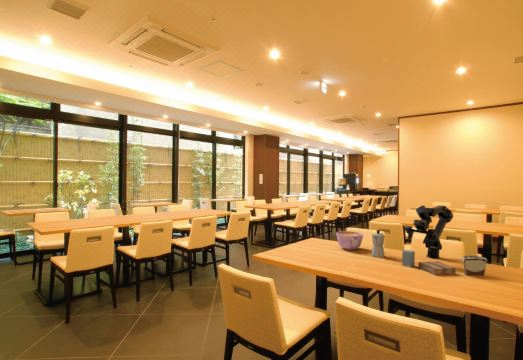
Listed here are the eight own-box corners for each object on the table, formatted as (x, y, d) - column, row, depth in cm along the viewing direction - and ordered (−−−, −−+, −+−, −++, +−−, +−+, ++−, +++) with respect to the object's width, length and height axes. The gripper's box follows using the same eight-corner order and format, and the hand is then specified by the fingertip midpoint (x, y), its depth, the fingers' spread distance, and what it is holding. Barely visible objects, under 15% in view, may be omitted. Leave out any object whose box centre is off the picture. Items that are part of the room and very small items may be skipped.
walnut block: (437, 267, 175) (437, 261, 175) (455, 274, 163) (455, 267, 162) (418, 268, 173) (418, 262, 173) (435, 276, 160) (435, 268, 160)
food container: (479, 272, 165) (480, 255, 165) (487, 276, 159) (487, 258, 159) (457, 271, 166) (457, 254, 166) (463, 275, 160) (463, 257, 160)
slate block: (406, 263, 181) (406, 249, 181) (414, 265, 177) (414, 251, 177) (402, 265, 179) (402, 250, 178) (410, 267, 174) (410, 252, 174)
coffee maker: (380, 258, 192) (381, 232, 192) (367, 256, 198) (368, 230, 198) (388, 254, 203) (389, 229, 203) (376, 252, 209) (376, 227, 209)
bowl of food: (359, 253, 206) (359, 237, 206) (332, 249, 217) (332, 234, 217) (366, 247, 223) (366, 233, 223) (340, 244, 234) (340, 230, 234)
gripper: (405, 213, 193) (396, 231, 187) (435, 216, 178) (426, 236, 172) (411, 224, 198) (403, 242, 192) (441, 228, 183) (432, 247, 176)
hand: (415, 241), depth 183 cm, fingers open, 9 cm apart
